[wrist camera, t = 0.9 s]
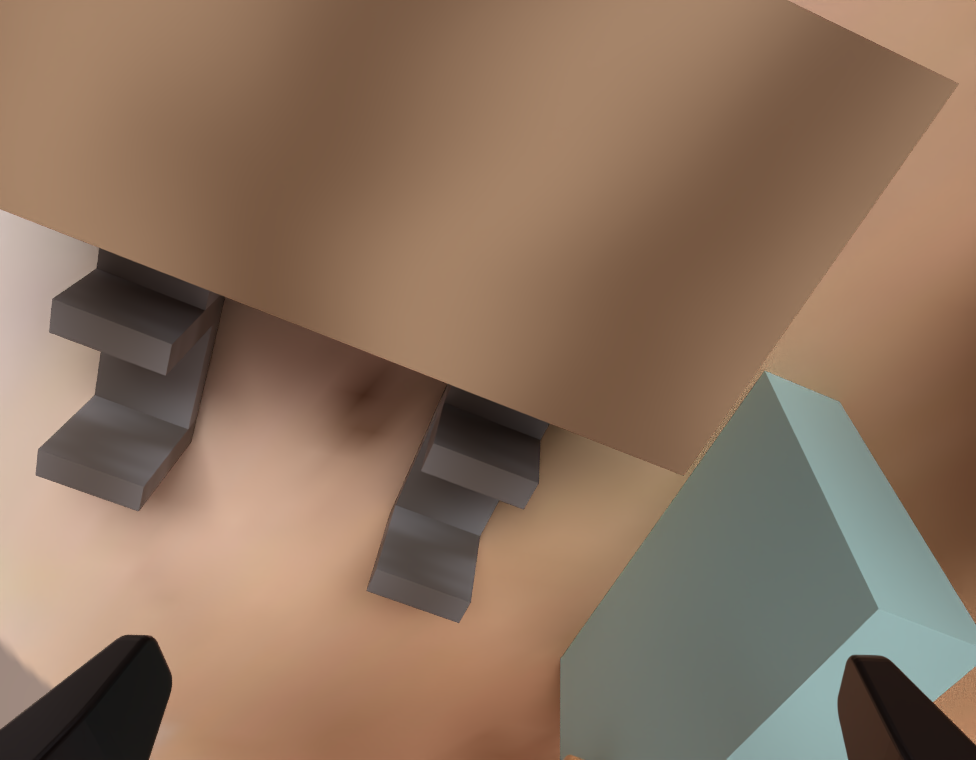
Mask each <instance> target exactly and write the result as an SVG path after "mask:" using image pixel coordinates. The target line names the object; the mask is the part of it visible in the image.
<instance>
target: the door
mask: <svg viewBox="0 0 976 760" xmlns="http://www.w3.org/2000/svg"><path fill="white" fill-rule="evenodd" d="M851 655H880V656H884V657H886V658H888V659H889V660H891V661H892V662H893V663H894V664H895V665H896V666H897V667H898V668H899V669H900V670H901V671H902V672H903V673H904V674H905V675H906V676H907V677H908V678H909V679H910V680H911V681H912V682H913V683H914V684H915V685H916V686H917V687H918V688H919V689H920V690H921V691H922V692H923V693H924V694H925V695H926V696H927V697H928V698H929V699H930V700H931V701H932V702H934V701H935V700H936V699H937V698H938V697H939V696H941V695H942V694H943V693H944V692H945V691H947V690H948V689H949V688H950V687H951V686H953V685H954V684H955V683H956V682H957V681H958V680H960V679H961V678H962V677H963V676H964V675H966V674H967V673H968V672H969V671H970V670H972V669H973V668H974V667H975V666H976V624H975V623H974V621H973V619H972V618H971V616H970V614H969V613H968V611H967V609H966V608H965V606H964V605H963V603H962V601H961V600H960V598H959V596H958V595H957V593H956V591H955V590H954V588H953V587H952V585H951V583H950V582H949V580H948V578H947V577H946V575H945V573H944V572H943V570H942V569H941V567H940V565H939V564H938V562H937V560H936V559H935V557H934V555H933V554H932V552H931V551H930V549H929V547H928V546H927V544H926V542H925V541H924V539H923V537H922V536H921V534H920V533H919V531H918V529H917V528H916V526H915V524H914V523H913V521H912V519H911V518H910V516H909V515H908V513H907V511H906V510H905V508H904V506H903V505H902V503H901V501H900V500H899V498H898V497H897V495H896V493H895V492H894V490H893V488H892V487H891V485H890V483H889V482H888V480H887V479H886V477H885V475H884V474H883V472H882V470H881V469H880V467H879V465H878V464H877V462H876V461H875V459H874V457H873V456H872V454H871V452H870V451H869V449H868V447H867V446H866V444H865V443H864V441H863V439H862V438H861V436H860V434H859V433H858V431H857V430H856V428H855V426H854V425H853V423H852V421H851V420H850V418H849V416H848V415H847V413H846V412H845V410H844V408H843V407H842V405H841V403H840V402H839V401H836V400H834V399H831V398H829V397H827V396H824V395H822V394H819V393H817V392H815V391H812V390H810V389H807V388H805V387H803V386H800V385H798V384H795V383H793V382H791V381H788V380H786V379H783V378H781V377H778V376H776V375H774V374H771V373H769V372H766V371H764V372H763V374H762V375H761V377H760V378H759V380H758V381H757V382H756V384H755V385H754V387H753V388H752V389H751V391H750V392H749V394H748V395H747V396H746V398H745V399H744V401H743V402H742V403H741V405H740V406H739V408H738V409H737V411H736V412H735V413H734V415H733V416H732V418H731V419H730V420H729V422H728V423H727V425H726V426H725V427H724V429H723V430H722V432H721V433H720V435H719V436H718V437H717V439H716V440H715V442H714V443H713V444H712V446H711V447H710V449H709V450H708V451H707V453H706V454H705V456H704V457H703V459H702V460H701V461H700V463H699V464H698V466H697V467H696V468H695V470H694V471H693V473H692V474H691V475H690V477H689V478H688V480H687V481H686V482H685V484H684V485H683V487H682V488H681V490H680V491H679V492H678V494H677V495H676V497H675V498H674V499H673V501H672V502H671V504H670V505H669V506H668V508H667V509H666V511H665V512H664V514H663V515H662V516H661V518H660V519H659V521H658V522H657V523H656V525H655V526H654V528H653V529H652V530H651V532H650V533H649V535H648V536H647V538H646V539H645V540H644V542H643V543H642V545H641V546H640V547H639V549H638V550H637V552H636V553H635V554H634V556H633V557H632V559H631V560H630V561H629V563H628V564H627V566H626V567H625V569H624V570H623V571H622V573H621V574H620V576H619V577H618V578H617V580H616V581H615V583H614V584H613V585H612V587H611V588H610V590H609V591H608V593H607V594H606V595H605V597H604V598H603V600H602V601H601V602H600V604H599V605H598V607H597V608H596V609H595V611H594V612H593V614H592V615H591V617H590V618H589V619H588V621H587V622H586V624H585V625H584V626H583V628H582V629H581V631H580V632H579V633H578V635H577V636H576V638H575V639H574V640H573V642H572V643H571V645H570V646H569V648H568V649H567V650H566V652H565V653H564V655H563V656H562V657H561V659H560V760H848V757H847V753H846V748H845V744H844V739H843V735H842V730H841V726H840V721H839V716H838V708H837V699H838V694H839V690H840V686H841V681H842V677H843V673H844V669H845V665H846V662H847V659H848V658H849V657H850V656H851Z"/></svg>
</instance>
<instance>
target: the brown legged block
mask: <svg viewBox="0 0 976 760" xmlns="http://www.w3.org/2000/svg"><path fill="white" fill-rule="evenodd" d="M957 86H958V83H956V82H954V81H952V80H950V79H948V78H946V77H944V76H942V75H940V74H938V73H936V72H934V71H932V70H930V69H928V68H926V67H923V66H921V65H919V64H917V63H915V62H913V61H911V60H909V59H907V58H905V57H903V56H901V55H899V54H897V53H895V52H893V51H891V50H889V49H887V48H884V47H882V46H880V45H878V44H876V43H874V42H872V41H870V40H868V39H866V38H864V37H862V36H860V35H858V34H856V33H854V32H852V31H850V30H847V29H845V28H843V27H841V26H839V25H837V24H835V23H833V22H831V21H829V20H827V19H825V18H823V17H821V16H819V15H817V14H815V13H813V12H810V11H808V10H806V9H804V8H802V7H800V6H798V5H796V4H794V3H792V2H790V1H788V0H0V209H1V210H4V211H6V212H9V213H12V214H14V215H17V216H19V217H22V218H24V219H27V220H30V221H32V222H35V223H37V224H40V225H42V226H45V227H47V228H50V229H53V230H55V231H58V232H60V233H63V234H65V235H68V236H71V237H73V238H76V239H78V240H81V241H83V242H86V243H88V244H91V245H94V246H96V247H99V255H98V262H97V269H95V270H94V271H92V272H91V273H89V274H88V275H87V276H85V277H84V278H82V279H81V280H79V281H78V282H76V283H75V284H73V285H72V286H71V287H69V288H68V289H66V290H65V291H63V292H62V293H60V294H59V295H58V296H56V297H55V298H53V299H52V308H51V319H50V329H49V332H50V333H52V334H55V335H58V336H60V337H63V338H66V339H68V340H71V341H74V342H76V343H79V344H82V345H84V346H87V347H90V348H92V349H95V350H98V351H101V355H100V362H99V369H98V376H97V383H96V390H95V396H93V397H92V398H91V399H90V400H89V401H88V402H87V403H86V404H85V405H84V406H83V407H82V408H81V409H80V410H79V411H78V412H77V413H76V414H75V415H74V416H73V417H72V418H70V419H69V420H68V421H67V422H66V423H65V424H64V425H63V426H62V427H61V428H60V429H59V430H58V431H57V432H56V433H55V434H54V435H53V436H52V437H51V438H50V439H49V440H48V441H46V442H45V443H44V444H43V445H42V446H41V447H40V448H39V449H38V456H37V466H36V476H39V477H42V478H45V479H47V480H50V481H53V482H56V483H59V484H62V485H65V486H68V487H70V488H73V489H76V490H79V491H82V492H85V493H88V494H90V495H93V496H96V497H99V498H102V499H105V500H108V501H111V502H113V503H116V504H119V505H122V506H125V507H128V508H131V509H133V510H136V511H139V510H140V509H141V508H142V506H143V505H144V504H145V502H146V501H147V500H148V498H149V497H150V496H151V494H152V493H153V492H154V490H155V489H156V488H157V486H158V485H159V484H160V482H161V481H162V480H163V478H164V477H165V476H166V474H167V473H168V472H169V471H170V469H171V468H172V467H173V465H174V464H175V463H176V461H177V460H178V459H179V457H180V456H181V455H182V453H183V452H184V451H185V449H186V448H187V447H188V445H189V444H190V443H191V440H192V435H193V431H194V427H195V423H196V418H197V414H198V410H199V405H200V401H201V397H202V393H203V388H204V384H205V380H206V375H207V371H208V367H209V363H210V358H211V354H212V350H213V345H214V341H215V337H216V333H217V328H218V324H219V320H220V315H221V311H222V307H223V303H224V298H225V297H227V298H229V299H232V300H234V301H237V302H240V303H242V304H245V305H247V306H250V307H252V308H255V309H258V310H260V311H263V312H265V313H268V314H270V315H273V316H275V317H278V318H281V319H283V320H286V321H288V322H291V323H293V324H296V325H299V326H301V327H304V328H306V329H309V330H311V331H314V332H316V333H319V334H322V335H324V336H327V337H329V338H332V339H334V340H337V341H340V342H342V343H345V344H347V345H350V346H352V347H355V348H357V349H360V350H363V351H365V352H368V353H370V354H373V355H375V356H378V357H381V358H383V359H386V360H388V361H391V362H393V363H396V364H398V365H401V366H404V367H406V368H409V369H411V370H414V371H416V372H419V373H422V374H424V375H427V376H429V377H432V378H434V379H437V380H439V381H442V382H445V383H447V386H446V388H445V391H444V393H443V395H442V398H441V400H440V402H439V404H438V407H437V409H436V411H435V413H434V416H433V418H432V420H431V422H430V425H429V427H428V429H427V431H426V434H425V436H424V438H423V440H422V443H421V445H420V447H419V449H418V452H417V454H416V456H415V458H414V461H413V463H412V465H411V467H410V470H409V472H408V474H407V477H406V479H405V481H404V483H403V486H402V488H401V490H400V492H399V495H398V497H397V499H396V501H395V504H394V506H393V508H392V510H391V513H390V515H389V518H388V522H387V525H386V528H385V532H384V535H383V538H382V542H381V545H380V548H379V551H378V555H377V558H376V561H375V565H374V568H373V571H372V574H371V578H370V581H369V584H368V588H367V591H368V592H371V593H374V594H377V595H380V596H383V597H386V598H389V599H391V600H394V601H397V602H400V603H403V604H406V605H409V606H411V607H414V608H417V609H420V610H423V611H426V612H429V613H432V614H434V615H437V616H440V617H443V618H446V619H449V620H452V621H454V622H457V623H459V622H460V620H461V618H462V617H463V615H464V613H465V611H466V610H467V608H468V606H469V604H470V603H471V597H472V589H473V582H474V575H475V568H476V561H477V554H478V546H479V539H480V535H481V533H482V531H483V529H484V528H485V526H486V524H487V522H488V520H489V518H490V517H491V515H492V513H493V511H494V509H495V507H496V505H497V504H498V502H499V500H500V501H502V502H505V503H508V504H510V505H513V506H516V507H519V508H521V509H524V508H525V506H526V505H527V503H528V501H529V499H530V498H531V496H532V494H533V492H534V491H535V489H536V487H537V485H538V484H539V464H540V441H541V438H542V437H543V435H544V433H545V431H546V429H547V427H548V426H549V424H552V425H555V426H557V427H560V428H562V429H565V430H568V431H570V432H573V433H575V434H578V435H580V436H583V437H586V438H588V439H591V440H593V441H596V442H598V443H601V444H603V445H606V446H609V447H611V448H614V449H616V450H619V451H621V452H624V453H627V454H629V455H632V456H634V457H637V458H639V459H642V460H644V461H647V462H650V463H652V464H655V465H657V466H660V467H662V468H665V469H668V470H670V471H673V472H675V473H678V474H680V475H683V476H684V474H685V473H686V472H687V470H688V469H689V467H690V466H691V465H692V463H693V462H694V460H695V459H696V457H697V456H698V455H699V453H700V452H701V450H702V449H703V447H704V446H705V445H706V443H707V442H708V440H709V439H710V437H711V436H712V435H713V433H714V432H715V430H716V429H717V427H718V426H719V425H720V423H721V422H722V420H723V419H724V418H725V416H726V415H727V413H728V412H729V410H730V409H731V408H732V406H733V405H734V403H735V402H736V400H737V399H738V398H739V396H740V395H741V393H742V392H743V390H744V389H745V388H746V386H747V385H748V383H749V382H750V381H751V379H752V378H753V376H754V375H755V373H756V372H757V371H758V369H759V368H760V366H761V365H762V363H763V362H764V361H765V359H766V358H767V356H768V355H769V353H770V352H771V351H772V349H773V348H774V346H775V345H776V344H777V342H778V341H779V339H780V338H781V336H782V335H783V334H784V332H785V331H786V329H787V328H788V326H789V325H790V324H791V322H792V321H793V319H794V318H795V316H796V315H797V314H798V312H799V311H800V309H801V308H802V307H803V305H804V304H805V302H806V301H807V299H808V298H809V297H810V295H811V294H812V292H813V291H814V289H815V288H816V287H817V285H818V284H819V282H820V281H821V279H822V278H823V277H824V275H825V274H826V272H827V271H828V270H829V268H830V267H831V265H832V264H833V262H834V261H835V260H836V258H837V257H838V255H839V254H840V252H841V251H842V250H843V248H844V247H845V245H846V244H847V242H848V241H849V240H850V238H851V237H852V235H853V234H854V233H855V231H856V230H857V228H858V227H859V225H860V224H861V223H862V221H863V220H864V218H865V217H866V215H867V214H868V213H869V211H870V210H871V208H872V207H873V205H874V204H875V203H876V201H877V200H878V198H879V197H880V196H881V194H882V193H883V191H884V190H885V188H886V187H887V186H888V184H889V183H890V181H891V180H892V178H893V177H894V176H895V174H896V173H897V171H898V170H899V168H900V167H901V166H902V164H903V163H904V161H905V160H906V158H907V157H908V156H909V154H910V153H911V151H912V150H913V149H914V147H915V146H916V144H917V143H918V141H919V140H920V139H921V137H922V136H923V134H924V133H925V131H926V130H927V129H928V127H929V126H930V124H931V123H932V121H933V120H934V119H935V117H936V116H937V114H938V113H939V112H940V110H941V109H942V107H943V106H944V104H945V103H946V102H947V100H948V99H949V97H950V96H951V94H952V93H953V92H954V90H955V89H956V87H957Z"/></svg>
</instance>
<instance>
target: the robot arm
mask: <svg viewBox="0 0 976 760" xmlns="http://www.w3.org/2000/svg"><path fill="white" fill-rule="evenodd" d="M171 688H172V675H171V672H170V669H169V667H168V665H167V663H166V660H165V658H164V656H163V654H162V651H161V649H160V647H159V645H158V642H157V641H156V639H155V638H153V637H152V636H149V635H125V636H122V637H120V638H118V639H116V640H115V641H114V642H112V643H111V644H110V645H108V646H107V647H106V648H105V649H103V650H102V651H101V652H99V653H98V654H97V655H96V656H94V657H93V658H92V659H90V660H89V661H88V662H87V663H85V664H84V665H83V666H81V667H80V668H79V669H78V670H76V671H75V672H74V673H72V674H71V675H70V676H68V677H67V678H66V679H65V680H63V681H62V682H61V683H59V684H58V685H57V686H56V687H54V688H53V689H52V690H50V691H49V692H48V693H47V694H45V695H44V696H43V697H41V698H40V699H39V700H38V701H36V702H35V703H34V704H32V705H31V706H30V707H29V708H27V709H26V710H25V711H24V712H22V713H21V714H20V715H18V716H17V717H16V718H15V719H13V720H12V721H11V722H9V723H8V724H7V725H5V726H4V727H3V728H1V729H0V760H149V758H150V755H151V751H152V748H153V745H154V742H155V739H156V736H157V733H158V730H159V727H160V724H161V721H162V718H163V715H164V712H165V709H166V706H167V703H168V699H169V696H170V693H171ZM837 708H838V716H839V721H840V726H841V730H842V735H843V739H844V744H845V748H846V753H847V757H848V760H976V745H975V744H974V743H973V742H972V741H971V740H970V739H969V738H968V737H967V736H966V735H965V734H964V733H963V732H962V731H961V730H960V729H959V728H958V727H957V726H956V725H955V724H954V723H953V722H952V721H951V720H950V719H949V718H948V717H947V716H946V715H945V714H944V713H943V712H942V711H941V710H940V709H939V708H938V707H937V706H936V705H935V704H934V703H933V702H932V701H931V700H930V699H929V698H928V697H927V696H926V695H925V694H924V693H923V692H922V691H921V690H920V689H919V688H918V687H917V686H916V685H915V684H914V683H913V682H912V681H911V680H910V679H909V678H908V677H907V676H906V675H905V674H904V673H903V672H902V671H901V670H900V669H899V668H898V667H897V666H896V665H895V664H894V663H893V662H892V661H891V660H889V659H888V658H886V657H884V656H880V655H851V656H850V657H849V658H848V659H847V662H846V665H845V669H844V673H843V677H842V681H841V686H840V690H839V694H838V699H837Z"/></svg>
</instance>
